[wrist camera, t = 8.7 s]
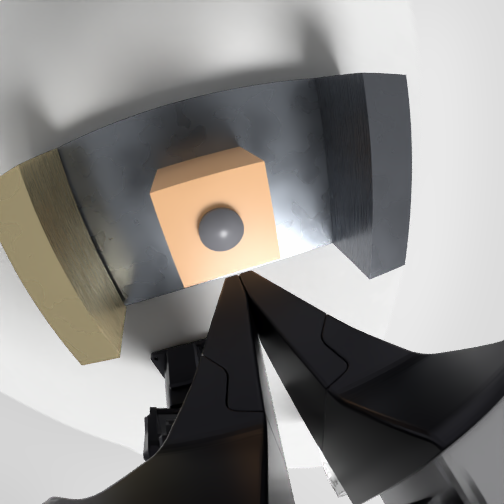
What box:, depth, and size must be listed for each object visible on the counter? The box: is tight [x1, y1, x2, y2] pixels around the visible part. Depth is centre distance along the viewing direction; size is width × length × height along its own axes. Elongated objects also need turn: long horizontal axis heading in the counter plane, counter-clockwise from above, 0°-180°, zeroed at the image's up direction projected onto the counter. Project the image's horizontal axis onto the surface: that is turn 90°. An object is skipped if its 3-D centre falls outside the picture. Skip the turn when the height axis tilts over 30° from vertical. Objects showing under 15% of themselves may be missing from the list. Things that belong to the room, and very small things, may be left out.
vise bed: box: [57, 73, 412, 306], centre depth 15 cm, size 12×22×7 cm, turn 101°
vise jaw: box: [0, 148, 126, 365], centre depth 13 cm, size 12×3×5 cm, turn 11°
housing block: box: [150, 147, 281, 288], centre depth 15 cm, size 5×5×5 cm
